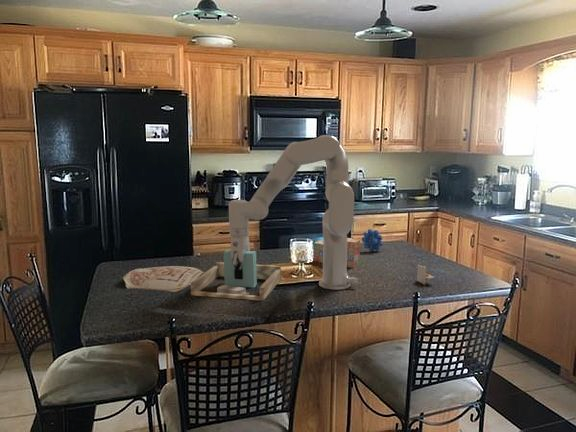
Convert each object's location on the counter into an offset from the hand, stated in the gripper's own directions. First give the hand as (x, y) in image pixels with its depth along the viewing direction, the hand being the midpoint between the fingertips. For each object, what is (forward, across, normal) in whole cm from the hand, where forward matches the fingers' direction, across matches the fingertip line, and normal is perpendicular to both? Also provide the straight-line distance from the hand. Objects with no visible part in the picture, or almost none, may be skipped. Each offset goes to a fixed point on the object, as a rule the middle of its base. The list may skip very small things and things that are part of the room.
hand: (240, 276), depth 192 cm
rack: (+5, -2, 0) cm, 5 cm away
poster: (+5, +4, +34) cm, 35 cm away
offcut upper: (+3, -10, 0) cm, 11 cm away
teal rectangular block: (+4, 0, 0) cm, 4 cm away
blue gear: (+6, +72, -48) cm, 86 cm away
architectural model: (+6, +24, -71) cm, 75 cm away
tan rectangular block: (+6, +46, -32) cm, 56 cm away
